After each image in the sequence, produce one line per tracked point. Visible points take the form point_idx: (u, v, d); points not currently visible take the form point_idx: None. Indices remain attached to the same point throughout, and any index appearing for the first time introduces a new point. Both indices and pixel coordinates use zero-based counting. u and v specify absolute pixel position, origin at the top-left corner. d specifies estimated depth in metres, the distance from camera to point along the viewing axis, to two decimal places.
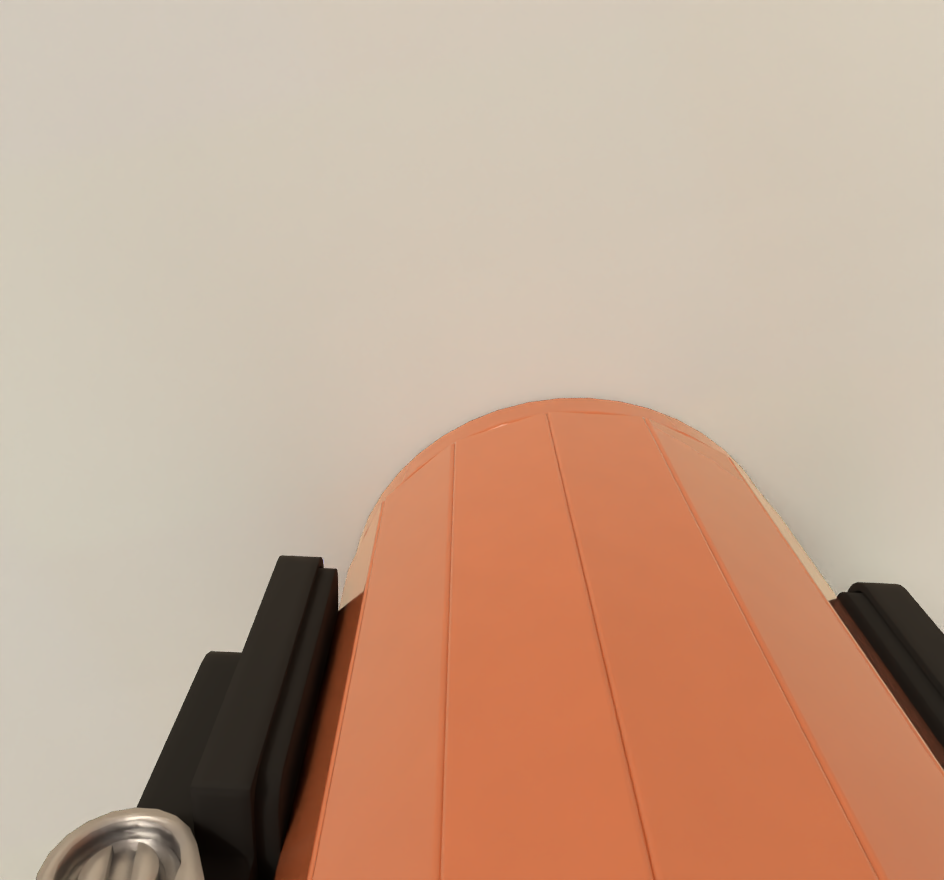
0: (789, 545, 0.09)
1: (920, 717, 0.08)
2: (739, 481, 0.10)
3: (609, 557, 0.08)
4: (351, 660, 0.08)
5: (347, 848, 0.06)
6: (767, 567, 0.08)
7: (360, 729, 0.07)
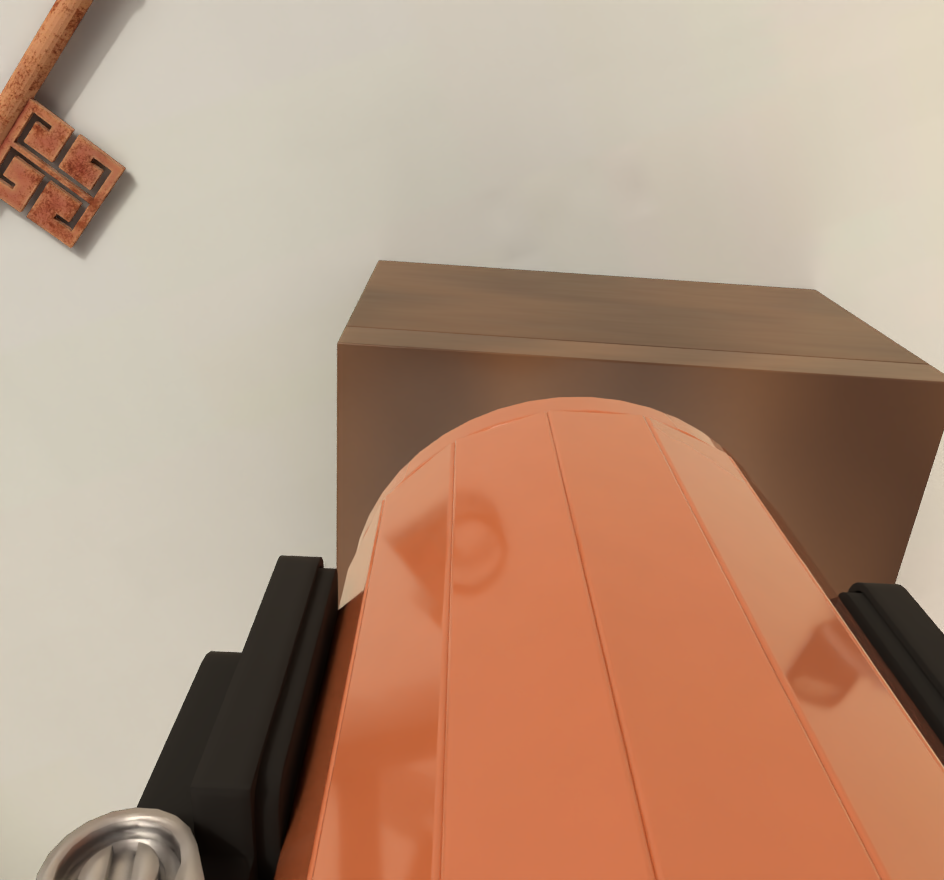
0: (790, 544, 0.09)
1: (921, 716, 0.08)
2: (740, 480, 0.10)
3: (610, 555, 0.08)
4: (351, 659, 0.08)
5: (347, 844, 0.06)
6: (768, 566, 0.08)
7: (360, 727, 0.07)
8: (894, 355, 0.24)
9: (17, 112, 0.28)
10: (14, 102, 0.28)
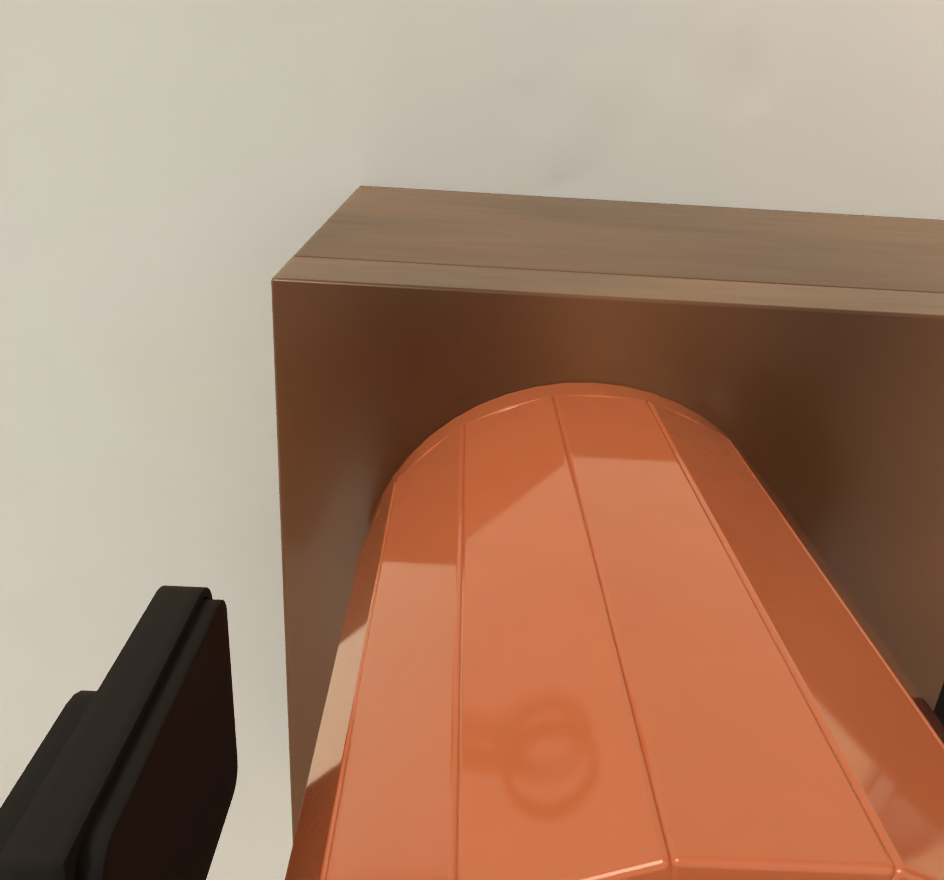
0: (786, 520, 0.10)
1: (909, 680, 0.08)
2: (738, 461, 0.11)
3: (614, 526, 0.08)
4: (367, 626, 0.09)
5: (370, 789, 0.06)
6: (764, 538, 0.09)
7: (378, 686, 0.08)
8: None
9: None
10: None
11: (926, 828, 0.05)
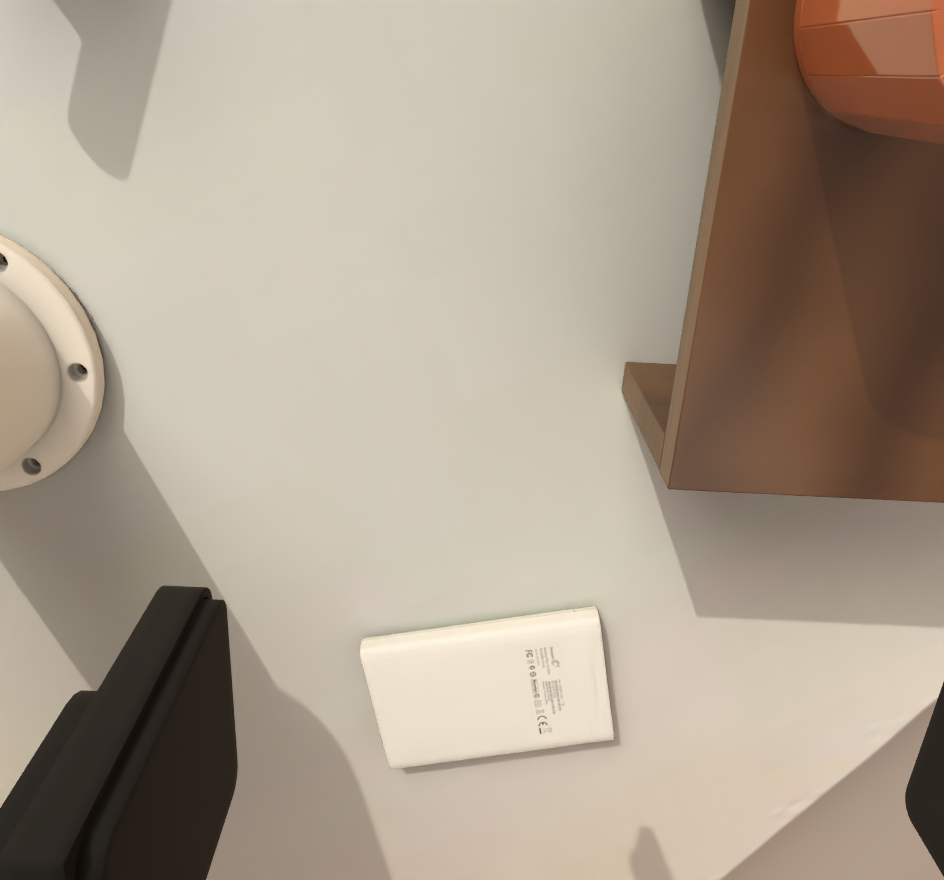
0: None
1: None
2: None
3: None
4: None
5: None
6: None
7: None
8: None
9: None
10: None
11: None
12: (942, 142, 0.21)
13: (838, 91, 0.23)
